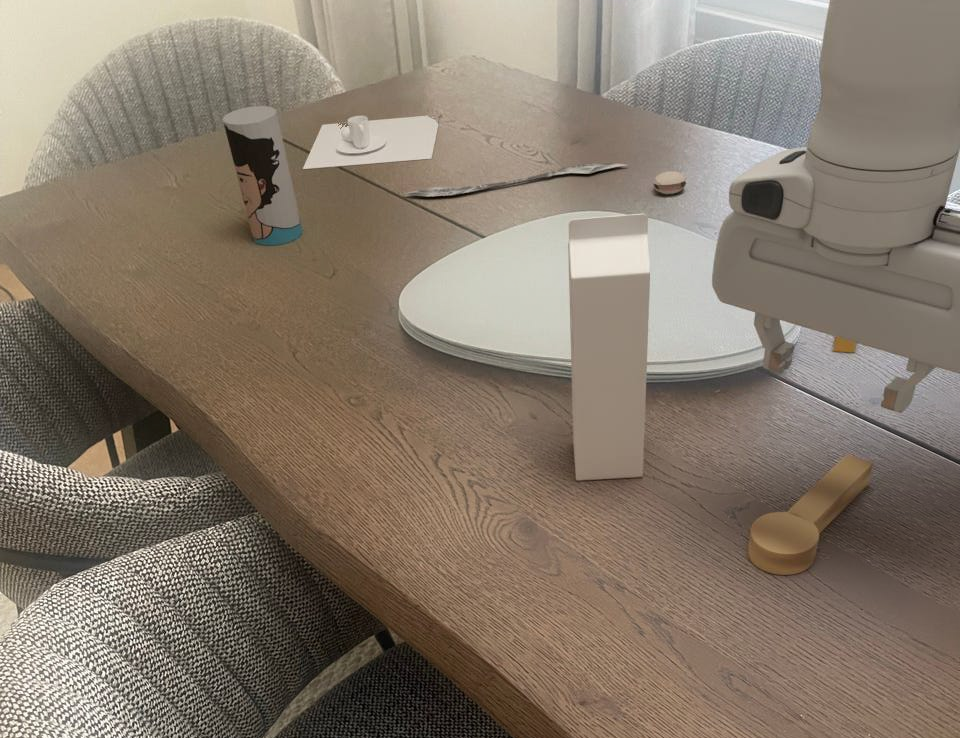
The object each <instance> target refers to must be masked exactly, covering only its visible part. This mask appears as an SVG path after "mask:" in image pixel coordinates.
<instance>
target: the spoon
mask: <svg viewBox="0 0 960 738" xmlns="http://www.w3.org/2000/svg"><path fill="white" fill-rule="evenodd" d="M873 466H874V462H872V461H869V460H867V459H863V458H861V457H858V456H855V455H853V454H849V453H846V454H845V455H844V456H843V457H842V458H841V459H840V460H839V461H838V462H837V463H836V464H835V465H834V466H832V468H831V469H830V470H828V471H827V472H826V473H825V474H824V475H823V476H822V477H821V478H820V479H819V480H818V481H817V482H816V483H815V484H814V485H813V486H812V487H811V488H810V489H809V490H808V491H807V492H806V493H804V495H803V496H801V498H799V499H798V501H796V503H795V502H794V504H793V505H792V506H791V507H790V508H789V509H787V511H773V512H769V513H766V514H763V515H761V516H759V517H757V518H756V519H755V520H754V521H753V522H752V524H751V526H750V529H749V538H748V543H747V544H748V545H747V556H748V559H749V560H750V562H751V563H752V564H753V565H754V566H755V567H756V568H758V569H760V570H762V571H764V572H766V573H768V574H773V575H778V576H779V575H780V576H790V575H796V574H799V573H803V572H804V571H806V570H808V569H809V568H810V567H811V566H812V565H813V564H814V562H815V559H816V555H817V550H818V546H819V541H820V534H821V533H822V532H823V531H824V530H825V529H826V528H827V527H828V526H829V525H830V523H832V522H833V521H834V519H835V518H836V517H837V516H838V515H840V514H841V513H842V512H843V510H845V508H846V507H848V505H849V504H851V502H852V501H853V500H854V499H855V498H856V497H857V496H859V494H860V493H861V492H862V491H863V490H864V489H865V488H866V487H867V486H868V485H869V484H870V479H871V476H872V471H873Z"/></svg>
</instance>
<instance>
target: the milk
mask: <svg viewBox="0 0 960 738" xmlns="http://www.w3.org/2000/svg"><path fill="white" fill-rule="evenodd" d="M648 229H649V217H648V215H647V214H646V213H636V214H635V213H633V214H621V215H620V214H619V215H608V216H594V217H581V218H572V219H571V220H569V222H568V245H567V249H568V251H567V252H568V254H567V255H568V286H569V287H568V291H569V326H570V327H569V328H570V329H569V330H570V331H569V332H570V333H569V334H570V366H571V368H570V369H571V372H570V373H571V404H572V405H571V406H572V409H571V410H572V445H573V458H574V459H573V460H574V470H575V471H574V472H575V480H576V481H593V480H594V481H595V480H611V479H613V480H614V479H629V478H630V479H631V478H643V476H644V459H645V458H644V457H645V454H644V453H645V452H644V451H645V429H646V423H645V422H646V403H647V402H646V401H647V400H646V398H647V375H648V373H647V372H648V347H649V345H648V343H649V316H650V292H651V291H650V288H651V263H650V262H651V261H650V251H649V248H650V247H649V235H648V233H649V231H648Z"/></svg>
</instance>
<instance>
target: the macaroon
mask: <svg viewBox="0 0 960 738" xmlns="http://www.w3.org/2000/svg"><path fill="white" fill-rule="evenodd" d="M686 181H687V177H686V175H685V174H683V173H681V172H679V171H676V170H675V171H669V170H667V171H664V172H661V173H659V174H658V175H657V176H655V178H654V181H653V187H654V189H655V191H656V192H658V193H661V194H663V195H674V194H676V193H680V192H681V191H682V190H683V189H684V188H685V187H686V185H687V182H686Z"/></svg>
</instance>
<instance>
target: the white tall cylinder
mask: <svg viewBox="0 0 960 738" xmlns="http://www.w3.org/2000/svg"><path fill="white" fill-rule="evenodd" d="M222 123H223V126H224V130H225V133H226V138H227V142H228V145H229V150H230V153H231V157H232V161H233V166H234V170H235V173H236V177H237V181H238V185H239V188H240V193H241V197H242V200H243V205H244V208H245V212H246V216H247V221H248V224H249V227H250V231H251V235H252V239H253V242H254V243H256V244H258V245H260V246H269V247H270V246H280V245H284V244H288V243H291V242H294V241H295V240H297V239H298V238H300V236H301V235H302V234H303V227H302V222H301V216H300V212H299V207H298V203H297V199H296V195H295V190H294V186H293V180H292V176H291V171H290V167H289V162H288V157H287V153H286V148H285V144H284V140H283V135H282V130H281V126H280V121H279V117H278V112H277V110H276V108H274V107H272V106H266V105H255V106H247V107H243V108H239V109H236V110H232V111H231V112H228V113H226V114H225V115H224V116H223V118H222Z"/></svg>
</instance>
